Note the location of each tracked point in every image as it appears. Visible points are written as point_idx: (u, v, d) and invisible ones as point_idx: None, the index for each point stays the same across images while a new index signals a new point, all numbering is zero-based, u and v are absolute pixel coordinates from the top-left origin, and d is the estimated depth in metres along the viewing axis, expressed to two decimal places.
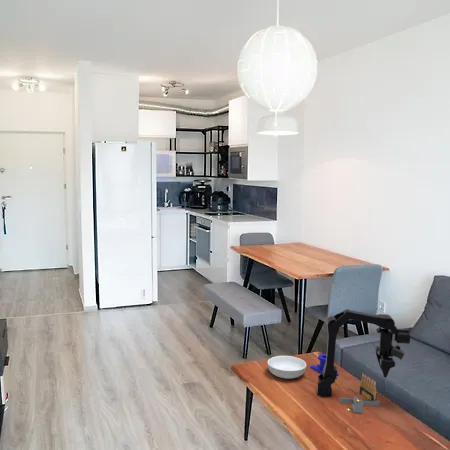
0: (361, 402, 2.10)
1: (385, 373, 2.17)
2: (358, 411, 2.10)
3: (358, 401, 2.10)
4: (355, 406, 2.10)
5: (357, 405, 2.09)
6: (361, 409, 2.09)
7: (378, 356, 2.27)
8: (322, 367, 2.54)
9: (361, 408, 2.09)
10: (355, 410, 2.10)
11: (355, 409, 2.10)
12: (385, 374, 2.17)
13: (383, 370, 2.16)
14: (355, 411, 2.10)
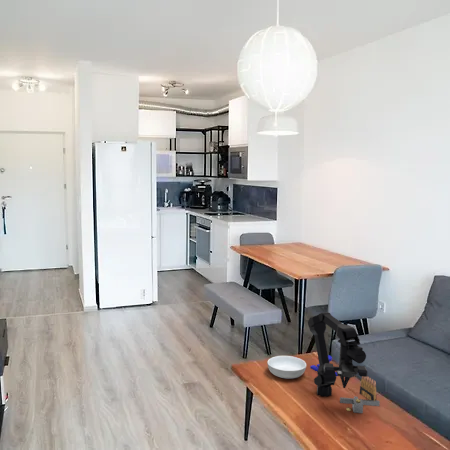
0: (361, 402, 2.10)
1: (342, 382, 2.11)
2: (358, 411, 2.10)
3: (358, 401, 2.10)
4: (355, 406, 2.10)
5: (357, 405, 2.09)
6: (361, 409, 2.09)
7: None
8: None
9: (361, 408, 2.09)
10: (355, 410, 2.10)
11: (355, 409, 2.10)
12: (342, 383, 2.11)
13: None
14: (355, 411, 2.10)
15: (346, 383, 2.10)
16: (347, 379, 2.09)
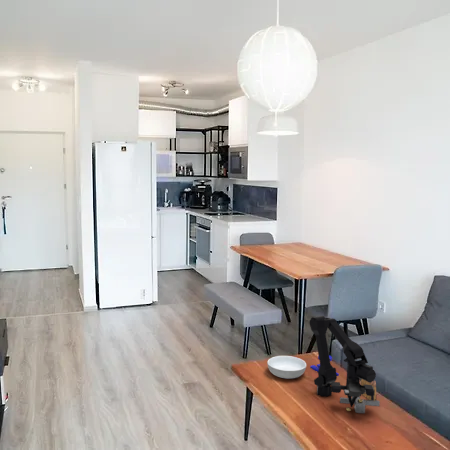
0: (363, 402, 2.10)
1: (349, 401, 2.12)
2: (360, 411, 2.10)
3: (360, 401, 2.10)
4: (357, 406, 2.09)
5: (359, 405, 2.09)
6: (363, 409, 2.09)
7: None
8: None
9: (363, 408, 2.09)
10: (357, 410, 2.10)
11: (357, 409, 2.10)
12: (349, 402, 2.12)
13: None
14: (357, 411, 2.10)
15: (353, 402, 2.10)
16: (354, 398, 2.10)
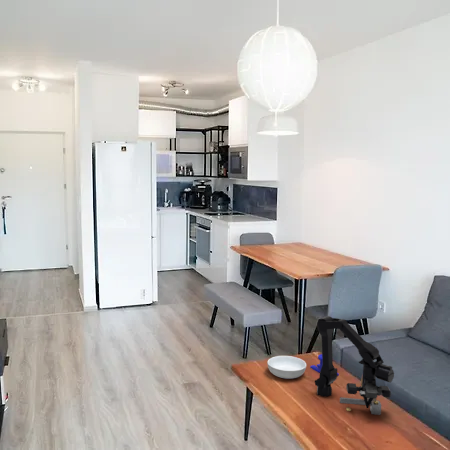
0: (379, 404, 2.09)
1: (365, 402, 2.11)
2: (376, 413, 2.09)
3: (376, 403, 2.09)
4: (373, 408, 2.09)
5: (375, 407, 2.08)
6: (379, 411, 2.08)
7: None
8: None
9: (379, 410, 2.08)
10: (373, 412, 2.09)
11: (373, 411, 2.09)
12: (365, 404, 2.11)
13: None
14: (373, 413, 2.09)
15: (369, 403, 2.10)
16: (370, 399, 2.09)
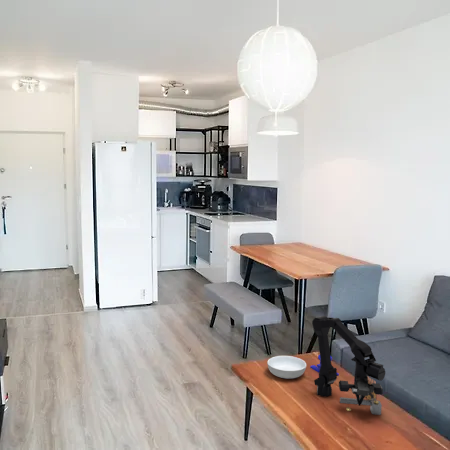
0: (379, 404, 2.09)
1: (357, 400, 2.11)
2: (376, 413, 2.09)
3: (376, 403, 2.09)
4: (373, 408, 2.09)
5: (375, 407, 2.08)
6: (379, 411, 2.08)
7: None
8: None
9: (379, 410, 2.08)
10: (373, 412, 2.09)
11: (373, 411, 2.09)
12: (357, 401, 2.11)
13: None
14: (373, 413, 2.09)
15: (361, 401, 2.10)
16: (362, 397, 2.09)
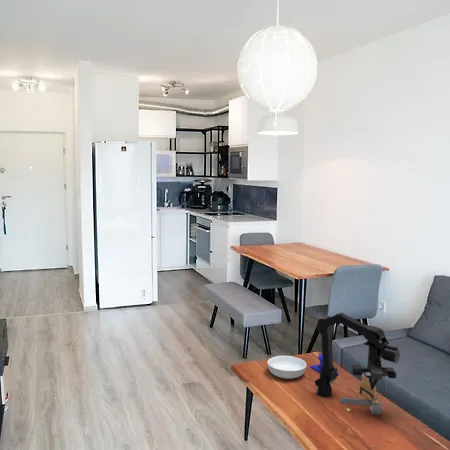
0: (379, 404, 2.09)
1: None
2: (376, 413, 2.09)
3: (376, 403, 2.09)
4: (373, 408, 2.09)
5: (375, 407, 2.08)
6: (379, 411, 2.08)
7: None
8: None
9: (379, 410, 2.08)
10: (373, 412, 2.09)
11: (373, 411, 2.09)
12: (370, 385, 2.10)
13: None
14: (373, 413, 2.09)
15: (374, 385, 2.09)
16: (375, 381, 2.08)
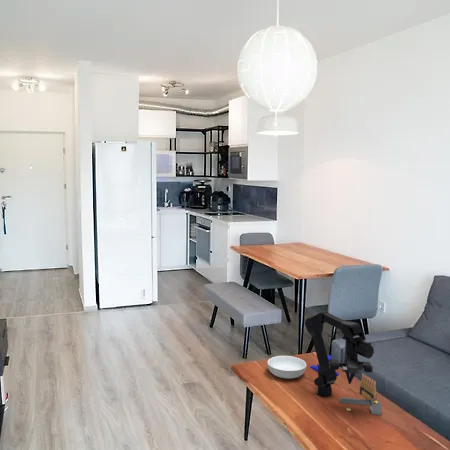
0: (379, 404, 2.09)
1: (347, 378, 2.13)
2: (376, 413, 2.09)
3: (376, 403, 2.09)
4: (373, 408, 2.09)
5: (375, 407, 2.08)
6: (379, 411, 2.08)
7: None
8: None
9: (379, 410, 2.08)
10: (373, 412, 2.09)
11: (373, 411, 2.09)
12: None
13: (346, 374, 2.14)
14: (373, 413, 2.09)
15: (351, 379, 2.12)
16: (352, 375, 2.11)
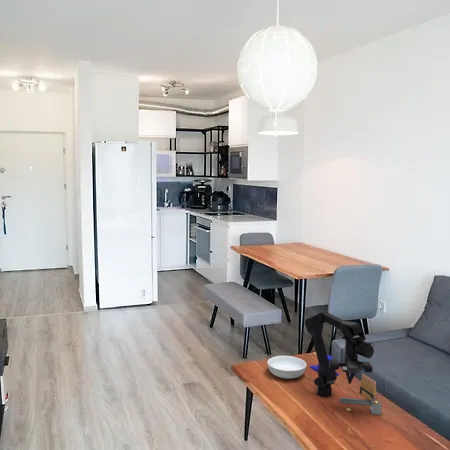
0: (379, 404, 2.09)
1: (347, 378, 2.13)
2: (376, 413, 2.09)
3: (376, 403, 2.09)
4: (373, 408, 2.09)
5: (375, 407, 2.08)
6: (379, 411, 2.08)
7: None
8: None
9: (379, 410, 2.08)
10: (373, 412, 2.09)
11: (373, 411, 2.09)
12: None
13: (346, 374, 2.14)
14: (373, 413, 2.09)
15: (351, 379, 2.12)
16: (352, 375, 2.11)
